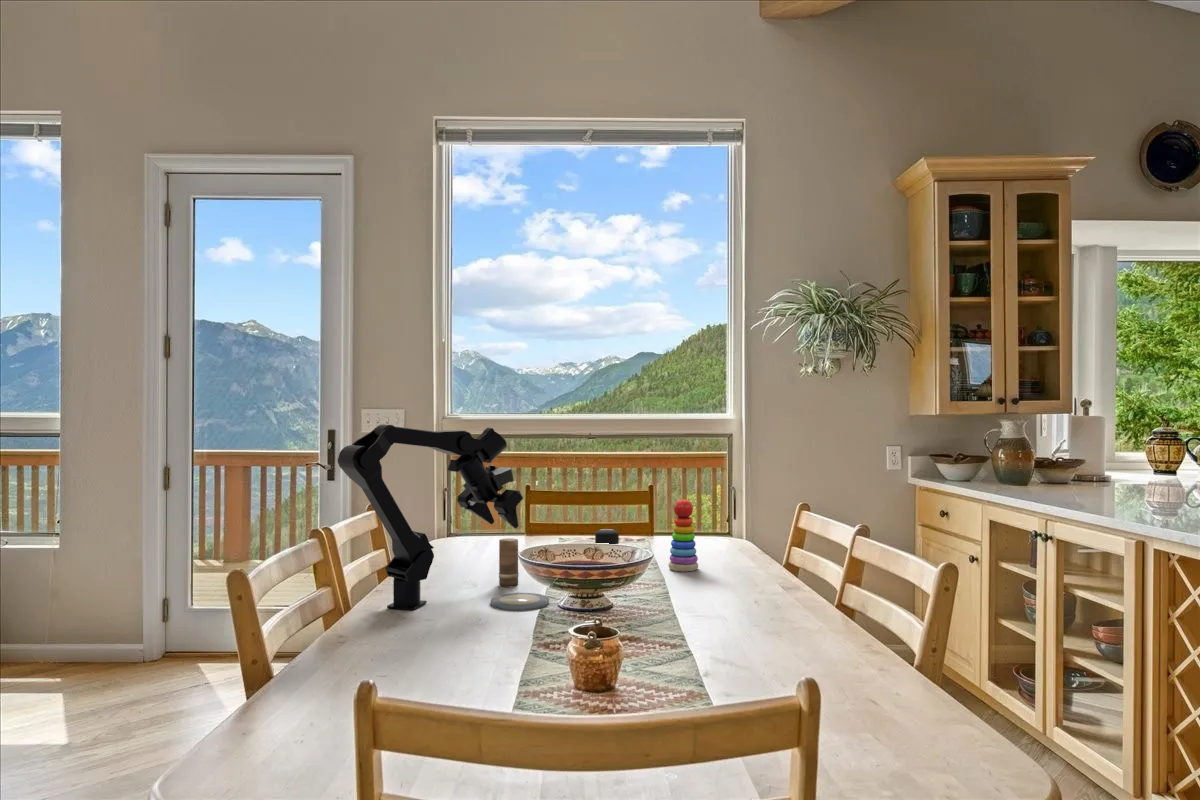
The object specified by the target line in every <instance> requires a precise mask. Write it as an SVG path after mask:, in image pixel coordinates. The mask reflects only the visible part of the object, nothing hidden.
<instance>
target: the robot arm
mask: <svg viewBox="0 0 1200 800" xmlns="http://www.w3.org/2000/svg"><path fill="white" fill-rule="evenodd" d="M394 444H397V445H398V444H399V445H407V446H413V447H414V446H416V447H424V448H430V449H433V450H434V451H436V452H439V453H442V454H445V455H451V456H452V455H453V456H457V458H455V459H450V461H449V464H448V467H447V471H448V472H453V473H458V472H459V474H460V476H461V477H462V480H463V481H464V484H463V487H464V490H462V491H461V493H460V494H459V495H457V500H456V501H457V503H458V505H459V507H460V508H464V509H465V510H466V511H468V512H470V513H472V514H473V515H476V516H477V517H478V518H481V519H482V520H483V521H485V522H487V524H490V525H493V524H495V519H494V516H493V515H492V513H491V510H490V508H489V505H488V503H489V502H490V503H493V508H494V510H495V511H496V512H497V515H498V516H499V517H500V518H502V519H503V520H504V521H505V522H506V523H508V524H509V525H510V526H511V527H512V528H514V529H517V528H518V527H519V520H518V513H517V506H518V505H519V504H520V502H521V501H522V500H524V496H523V495H522V492H521V490H516V489H515V490H514V489H504V486H503V485H506V484H508V483H513V482H514V481H515V480H514V476H513V475H514V474H513V469H512V468H511V467H502V466H501V467H496V466H495V465H493V464H491V463H492V462H493V461H494V460H496V458H498V457H499V455H500V454H501V453H503V452H504V451H505V450H506V449H507V447H508V444H507V441H506V439H505V437H503V436H502V435H501V434H500V433H498V432H497V431H495V430H494V428H493V427H486V428H485V429H484V430H483V432H482V433H481V434H479V435H478V436H477V437H476V438H475V437H472V435H471V432H470V431H467V430H460V429H459V430H457V429H456V430H455V429H445V430H444V429H443V430H434V431H433V430H431V431H430V430H425V429H418V428H410V427H400V426H396V425H394V424H379V425H377V426H376V427H375V428H374V429H372V430H371V431H370V432H368V433H367V434H365V435H364V436H362V437H360V438H358V439H357V440H355V441H354V442H353V443H352V444H350V445H347V446H344V447H343V448H342V449H341V450H340V451H339V454H338V458H337V465H338V467H340V469H341V470H342V471H343V473H345V475H346V476H347V477H348V478H349V479H351V481H353V482H354V483H355V484H356V485H358V487H360V488H361V490H362V491H363V493H364V494H365V496H366V498H367V500H368V502H369V503H370V505H371V507H372V508H373V510H374V511H375V514H376V515H377V516H378V518H379V520H380V521H381V523H382V525H383V527H384V528H385V530H386V532H387V533H388V536H390V539H391V551H392V553H393V558H392V559H391V560H390V562H389V563H388V564H387V565H386V567H385V572H386V575H387V577H389V578H393V580H392V581H393V582H392V583H393V587H392V588H393V592H392V594H393V601H392V603H390V604H387V606H386V608H387V609H396V610H408V611H413V610H416V609H418V608H420V607H421V606H423V605H426V604H427V600H422V599H421V581H424V580H427V579H428V576H429V572H430V568H431V566H432V564H433V562H434V558H435V553H434V551H433V550H434V548H435V547H434V546H433V545H432V544H431V543H430V541H429V538H428V536H427V535H426V533H424V532H419V531H413V530H412V528H411V526H410V525H409V523H408V521H407V519H406V518H405V516H404V514H403V512H402V510H401V509H400V507H399V505H398V504H397V501H396V500H395V499H394V497H393V495H392V494H391V492H390V489H389V488H388V486H387V485H386V483H385V481H384V479H383V468H382V464H381V461H380V460H382V459H383V458H384V457H385V456H386V455H387V453H388V452H389V451H390V448H391V447H392V446H393V445H394ZM484 463H487V464H489V465H484ZM490 464H491V465H490ZM503 489H504V491H503V492H502V493H499V492H500V491H501V490H503Z"/></svg>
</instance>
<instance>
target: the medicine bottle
mask: <svg viewBox="0 0 1200 800" xmlns="http://www.w3.org/2000/svg"><path fill="white" fill-rule="evenodd" d="M594 533H595V534H594V535H595V536H594V539H595V540H594V544H595V543H609V544H619V545H620V543H619V542H620V541H619V540H620V539H619V537H620V534H619V531H618V530H616V529H611V528H610V529H608V528H603V529H599V530H596V531H595V532H594Z"/></svg>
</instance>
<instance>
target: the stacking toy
mask: <svg viewBox="0 0 1200 800" xmlns="http://www.w3.org/2000/svg"><path fill="white" fill-rule="evenodd" d="M673 505H674V506H673V512H674V514H675V515H676V517H675V518H674V520H673V523H674V524H675V525H674V526H673V533H672V536H671V537H672V540H671V541H670V545H671V547H670V550H669V552H670V555H669V563H668V568H669V569H670V570H671V571H674V572H679V571H681V572H682V573H686V572H688V571H689V572H694V571H697V570H698V568H699V563H698V560H699V557H698V555H697V548H696V547H695V546H696V545H697V544H696V541H695V540H694V539H695V537H696V536H695V533H694V531H695V527H694V526H693V521H694V520H693V519H692V517H690V516H691V515H692V514H693V512H694V507H693V504H692V503H691V502H690V501H689V500H688V499H679V500H677V501H676V502H675V504H673Z"/></svg>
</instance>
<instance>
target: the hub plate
mask: <svg viewBox="0 0 1200 800" xmlns="http://www.w3.org/2000/svg"><path fill="white" fill-rule="evenodd" d="M489 604H490V606H491V607H492V608H494V609H497V610H502V611H509V612H511V611H513V612H517V611H519V612H520V611H533V610H539V609H542V608H545V607H547V606H549V604H550V598H549V597H548V596H547V595H545V594H541V593H535V592H509V593H502V594H499V595H495V596H493V597H492V598H490V601H489Z"/></svg>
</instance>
